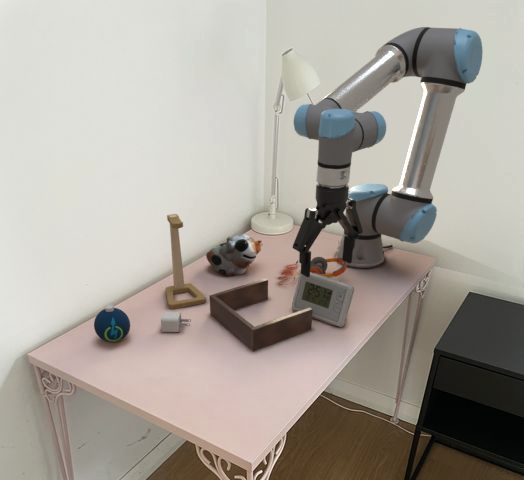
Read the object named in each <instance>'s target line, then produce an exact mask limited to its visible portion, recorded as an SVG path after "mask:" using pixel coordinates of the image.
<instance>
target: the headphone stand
mask: <svg viewBox="0 0 524 480" xmlns="http://www.w3.org/2000/svg"><path fill="white" fill-rule="evenodd" d="M166 219H167V222H168V223H169V235H170V249H171V263H172V265H171V266H172V279H173V280H172V281H173V285H169V286H166V287H165V295H166V302H167V307H168V309H171V310H175V309H181V308H185V307H192V306H197V305H203V304H205V303H206V301H207V298H206V296H205V295H204V294H203V293H202V292H201V291H200V290H199V289H198V288H196V286H195V285H193V283H189V282H186V283H185V277H184V269H183V268H184V267H183V258H182V249H181V240H180V231H179V229H182V228H183V227H184V221H182V220H181V218H180V216H179V215H178V214H177V213H172V214H167V216H166ZM182 293H190V294H191V295H192V296H193V297H192V298H186V299H181V300H175V296H174V295H176V294H182Z"/></svg>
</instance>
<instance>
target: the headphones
mask: <svg viewBox="0 0 524 480" xmlns="http://www.w3.org/2000/svg"><path fill="white" fill-rule="evenodd" d="M333 262H336V263H338V264H342V266H341V267H340V268H339V269H337V270H334V271H333V272H330V273H326V271H327V269H328V266H329V265H328V263H333ZM298 263H299V259H298V260H296V262H295V263H293V264H288V265H286V266H285V267H286V269H283V270H282V271H281V275H282V274H284V276H279V277H278V279H282V280H280V281H278V285H279V286H287V285H290V284H292V283H294V281H295V279H296V277H297V276H299V274H300V272H301V269H300V270H298V271H297V272H296V273H295V275H294V273H293V272H292V271H295V270H297V269H298V267H296V265H297V264H298ZM347 267H348V266H347V264H346V262H345V261H344V260H342V258H336V257H330V258H324V257H322V256H316V257H313V258H311V265H310V272H311V273H317V274H320V275H323V276H326V277H329V278H333V277H335V278H336V277H338V276H341V275H342V274H344V272H345V271H346V270H347ZM293 275H294V277H293V280H292V281H291V282H288V283H284V284H283V283H282V282H284V281H287V280H288V277H292V276H293Z"/></svg>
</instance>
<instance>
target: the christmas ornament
mask: <svg viewBox="0 0 524 480" xmlns="http://www.w3.org/2000/svg"><path fill="white" fill-rule="evenodd" d="M93 329H94V332H95V334H96V335H97V337H98V338H99V339H100V340H102V341H104V342H107V343H118V342H121V341H123V340H124V339H126V337H127V336H128V335H129V333H130V330H131V320H130V318H129V316H128V315H127V313H126V312H125V311H123V310H122V309H120V308H118V307H114V305H113V304H107V305H105V306H104V309H102V310H100V311H99V312H98V313H97V315H96V316H95V318H94V321H93Z"/></svg>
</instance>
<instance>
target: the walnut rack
mask: <svg viewBox="0 0 524 480" xmlns="http://www.w3.org/2000/svg"><path fill="white" fill-rule="evenodd" d="M208 296H209V311H210V313H209V314H210V317H212V318H213V319H214V320H215V321H216V322H218V323H219V324H220V325H221V327H223V328H224V329H226V330H227V331H228V332H229V333H230V334H232V335H233V336H234V337H235V338H236V339H238V340H239V341H240V342H241V343H243V345H245V346H246V347H247V348H248V349H250V350H251V351H252V352H256V351H259V350H261V349H264V348H266V347H269V346H272V345H274V344H277V343H279V342H282V341H285V340H288V339H291V338H293V337H296V336H298V335H301V334H304V333H306V332H309V331H311V330H312V325H313V318H312V312H313V309H312V308H310V307H309V308H307V309H304V310H301V311H295V312H292V313H289V314H287V315H284V316H280V317H278V318H276V319H273V320H270V321H267V322H264V323H261V324H258V325H256V326H254V325H253V324H252V323H251V322H250V321H248V320H247V319H246V318H244V317H243V316H242V315H241V314H239V313H238V312H237V311H236V310H240V309H242V308H245V307H248V306H252V305H255V304H258V303H262V302H264V301H267V300H269V279H268V278H266V277H265V278H263V279H259V280H256V281H252V282H249V283H246V284H243V285H239V286H236V287H232V288H229V289H226V290H223V291H219V292H216V293H213V294H210V295H208Z"/></svg>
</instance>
